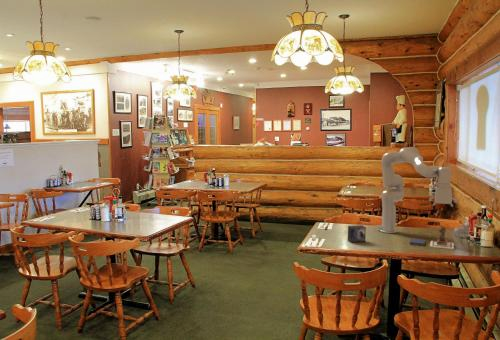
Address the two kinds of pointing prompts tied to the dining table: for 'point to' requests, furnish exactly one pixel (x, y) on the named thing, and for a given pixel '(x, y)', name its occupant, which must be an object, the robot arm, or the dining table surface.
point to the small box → (356, 234)
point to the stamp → (442, 237)
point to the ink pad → (417, 242)
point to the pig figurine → (462, 230)
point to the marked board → (434, 244)
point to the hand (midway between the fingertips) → (442, 211)
